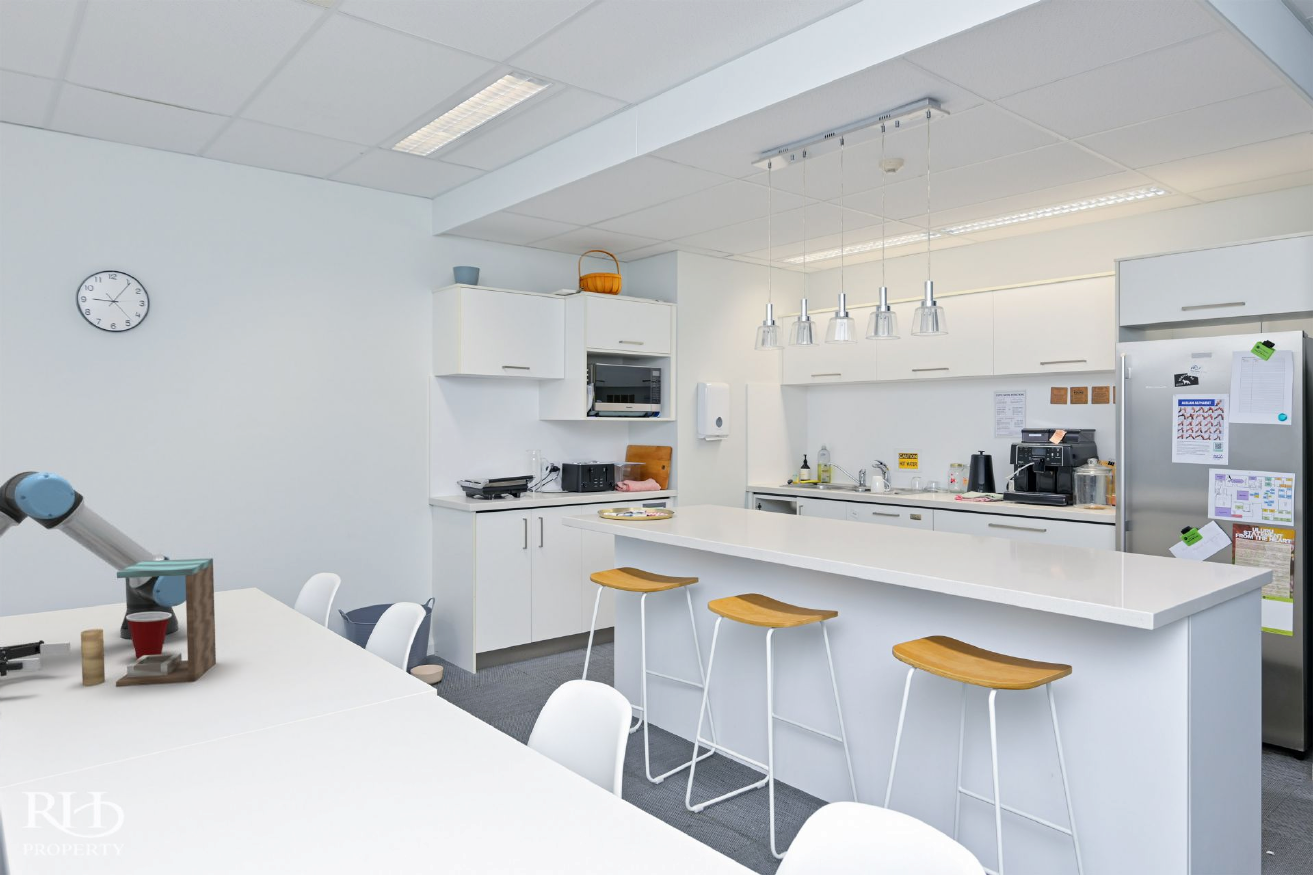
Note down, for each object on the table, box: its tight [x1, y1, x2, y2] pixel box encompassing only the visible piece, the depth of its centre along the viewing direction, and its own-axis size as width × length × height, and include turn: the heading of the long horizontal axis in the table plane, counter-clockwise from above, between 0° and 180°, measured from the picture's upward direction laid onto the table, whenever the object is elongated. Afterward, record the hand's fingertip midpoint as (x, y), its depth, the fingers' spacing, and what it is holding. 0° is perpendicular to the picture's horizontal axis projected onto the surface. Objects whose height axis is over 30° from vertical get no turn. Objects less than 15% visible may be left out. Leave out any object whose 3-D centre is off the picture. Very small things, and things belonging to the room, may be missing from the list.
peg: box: [80, 628, 106, 687], centre depth 203 cm, size 5×5×13 cm
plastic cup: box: [126, 612, 172, 660], centre depth 224 cm, size 11×11×12 cm
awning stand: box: [115, 557, 217, 687], centre depth 209 cm, size 15×18×28 cm
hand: (55, 655), depth 201 cm, fingers open, 13 cm apart
